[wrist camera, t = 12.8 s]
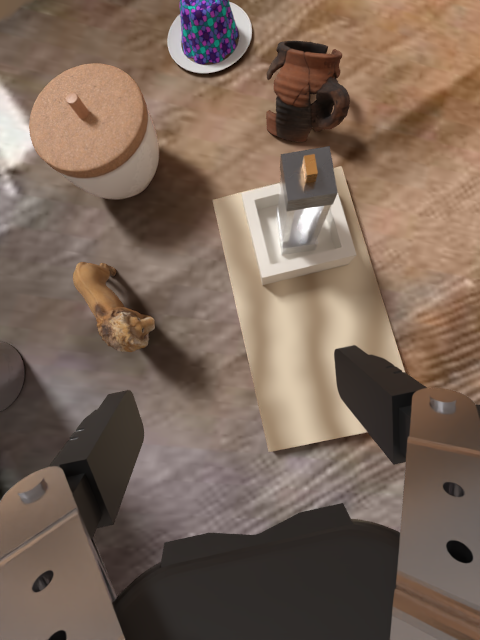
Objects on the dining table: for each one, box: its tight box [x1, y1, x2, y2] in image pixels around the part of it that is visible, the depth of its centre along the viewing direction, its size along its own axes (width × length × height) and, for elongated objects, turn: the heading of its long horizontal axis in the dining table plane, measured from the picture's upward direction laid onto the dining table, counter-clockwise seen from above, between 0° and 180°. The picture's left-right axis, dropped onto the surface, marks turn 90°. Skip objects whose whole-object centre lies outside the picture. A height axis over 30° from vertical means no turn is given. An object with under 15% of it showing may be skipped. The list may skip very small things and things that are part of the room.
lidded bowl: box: [29, 63, 159, 199], centre depth 32 cm, size 13×13×11 cm
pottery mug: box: [266, 41, 350, 142], centre depth 34 cm, size 12×10×8 cm
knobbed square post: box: [276, 146, 338, 255], centre depth 26 cm, size 4×5×11 cm
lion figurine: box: [73, 262, 155, 352], centre depth 31 cm, size 15×5×9 cm, turn 47°
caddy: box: [241, 183, 356, 285], centre depth 31 cm, size 10×10×3 cm
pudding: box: [168, 0, 252, 73], centre depth 37 cm, size 12×12×5 cm
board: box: [213, 166, 405, 452], centre depth 32 cm, size 16×30×2 cm, turn 13°
